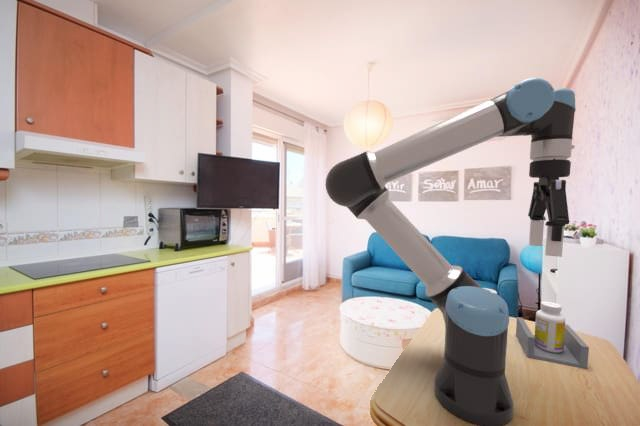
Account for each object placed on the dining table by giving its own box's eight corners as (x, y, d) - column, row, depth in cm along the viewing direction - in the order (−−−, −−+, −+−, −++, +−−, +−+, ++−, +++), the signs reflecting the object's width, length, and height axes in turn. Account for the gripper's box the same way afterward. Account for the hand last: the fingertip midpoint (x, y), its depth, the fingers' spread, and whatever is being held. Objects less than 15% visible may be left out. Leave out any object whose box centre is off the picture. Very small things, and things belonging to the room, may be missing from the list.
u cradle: (527, 356, 80) (528, 336, 80) (515, 334, 93) (516, 316, 93) (587, 368, 75) (589, 347, 75) (566, 343, 88) (568, 324, 87)
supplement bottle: (561, 346, 85) (564, 303, 84) (564, 356, 79) (568, 310, 78) (533, 339, 88) (536, 298, 87) (534, 348, 83) (537, 305, 82)
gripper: (596, 152, 55) (587, 263, 56) (551, 164, 77) (546, 243, 79) (547, 154, 57) (540, 259, 59) (518, 165, 80) (513, 241, 82)
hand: (543, 250), depth 69 cm, fingers open, 13 cm apart
